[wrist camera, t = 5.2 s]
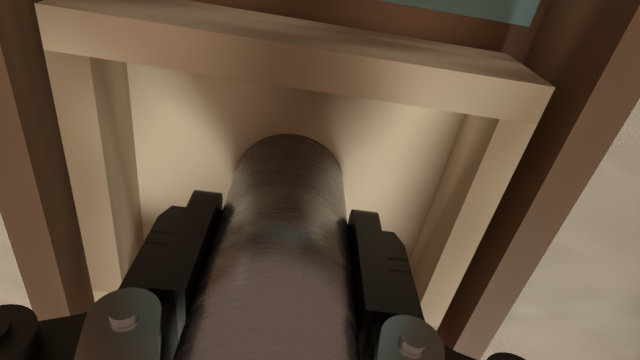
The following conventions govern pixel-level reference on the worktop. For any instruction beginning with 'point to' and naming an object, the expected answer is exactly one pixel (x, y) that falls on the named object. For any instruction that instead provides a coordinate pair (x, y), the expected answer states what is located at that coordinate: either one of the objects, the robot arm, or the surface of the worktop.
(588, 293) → the worktop surface
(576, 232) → the worktop surface
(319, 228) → the grey beige boxy piece
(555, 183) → the bay
